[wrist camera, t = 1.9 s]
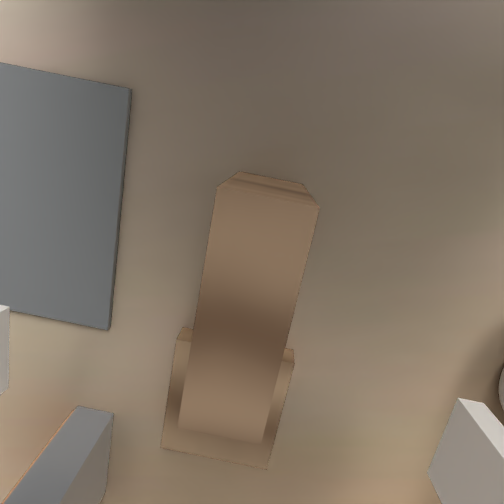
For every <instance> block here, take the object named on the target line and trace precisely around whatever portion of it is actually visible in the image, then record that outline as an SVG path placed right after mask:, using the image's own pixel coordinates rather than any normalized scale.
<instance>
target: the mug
mask: <svg viewBox="0 0 504 504" xmlns="http://www.w3.org/2000/svg"><path fill="white" fill-rule="evenodd" d="M499 399H500V403H501V406H502V408H503V411H504V368H503V370H502V373H501V376H500V380H499Z"/></svg>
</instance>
